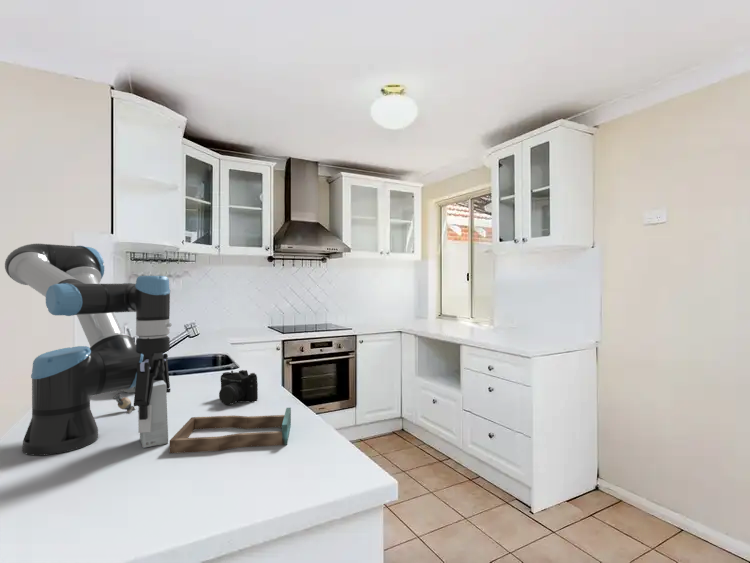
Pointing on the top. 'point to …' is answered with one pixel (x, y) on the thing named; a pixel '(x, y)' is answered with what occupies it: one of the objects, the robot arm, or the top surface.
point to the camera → (238, 387)
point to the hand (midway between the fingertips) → (153, 424)
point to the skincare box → (157, 417)
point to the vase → (124, 403)
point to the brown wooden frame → (203, 444)
